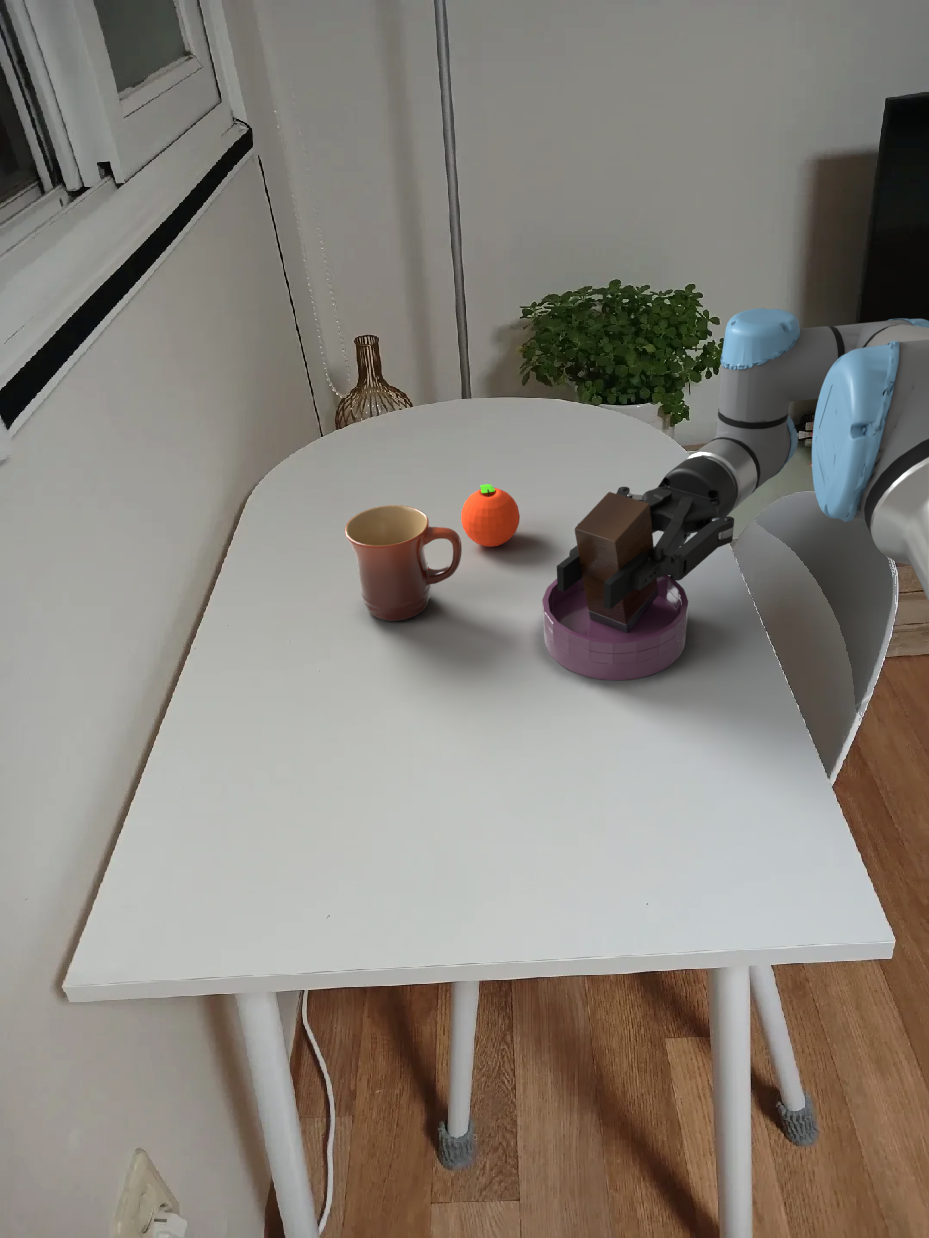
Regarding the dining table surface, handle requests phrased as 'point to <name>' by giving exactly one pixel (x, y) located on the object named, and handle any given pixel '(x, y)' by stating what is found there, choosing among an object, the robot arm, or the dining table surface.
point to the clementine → (490, 516)
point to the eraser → (615, 556)
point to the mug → (397, 559)
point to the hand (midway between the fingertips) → (583, 587)
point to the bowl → (615, 634)
